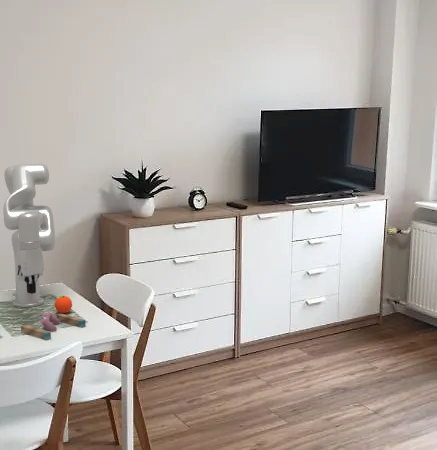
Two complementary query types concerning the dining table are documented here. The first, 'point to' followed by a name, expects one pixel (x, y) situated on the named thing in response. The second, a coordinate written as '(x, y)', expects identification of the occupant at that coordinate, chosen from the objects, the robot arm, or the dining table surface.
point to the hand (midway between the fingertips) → (31, 292)
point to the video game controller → (49, 321)
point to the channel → (47, 335)
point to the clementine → (63, 304)
